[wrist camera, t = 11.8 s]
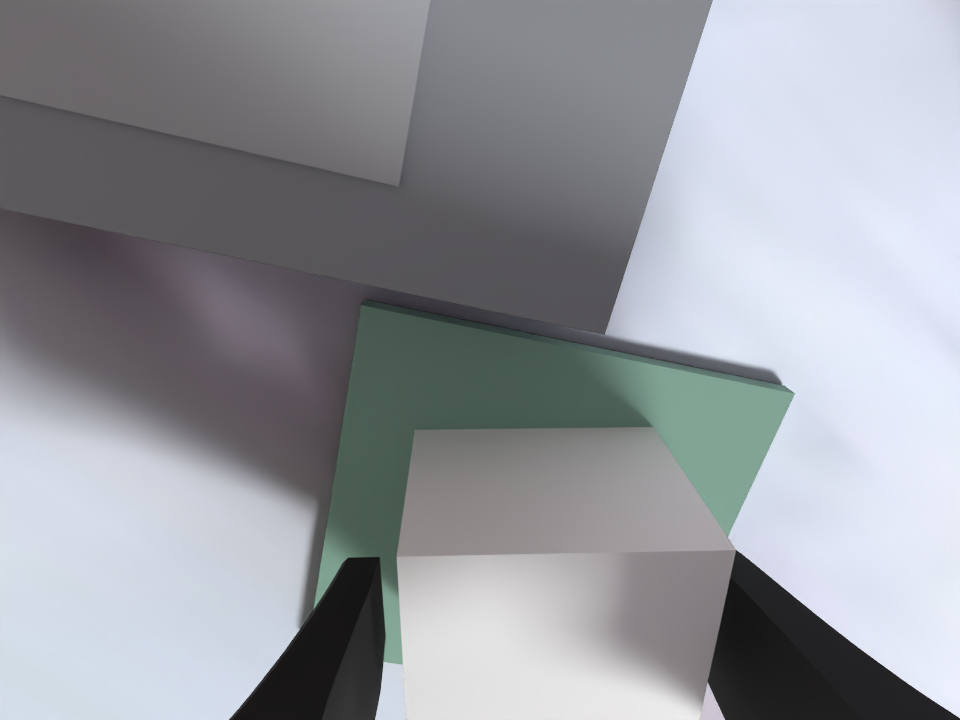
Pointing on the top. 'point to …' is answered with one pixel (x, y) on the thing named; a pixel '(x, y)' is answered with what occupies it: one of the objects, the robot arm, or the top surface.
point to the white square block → (556, 577)
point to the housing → (356, 135)
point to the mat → (519, 419)
